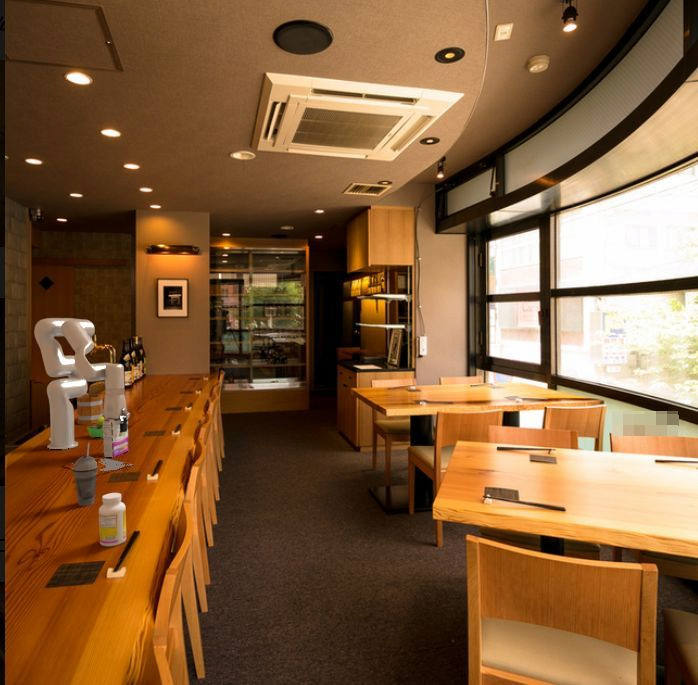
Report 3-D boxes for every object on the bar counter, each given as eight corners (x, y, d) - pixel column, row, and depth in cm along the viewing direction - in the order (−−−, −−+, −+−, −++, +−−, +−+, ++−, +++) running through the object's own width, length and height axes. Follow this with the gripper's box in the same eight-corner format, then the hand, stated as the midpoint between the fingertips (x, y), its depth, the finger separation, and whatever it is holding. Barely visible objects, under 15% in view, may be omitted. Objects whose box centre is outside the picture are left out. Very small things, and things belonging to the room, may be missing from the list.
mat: (61, 466, 210) (61, 465, 209) (97, 457, 223) (97, 456, 223) (98, 475, 198) (98, 475, 198) (134, 465, 211) (134, 464, 211)
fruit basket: (86, 437, 259) (85, 415, 259) (100, 433, 268) (100, 412, 267) (103, 439, 255) (102, 417, 255) (117, 435, 263) (116, 413, 263)
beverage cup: (79, 499, 172) (78, 440, 171) (102, 499, 173) (101, 440, 172) (69, 507, 165) (68, 446, 164) (93, 507, 166) (92, 445, 164)
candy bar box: (119, 451, 234) (118, 415, 233) (129, 451, 233) (128, 415, 232) (102, 457, 223) (101, 420, 222) (113, 458, 222) (112, 420, 221)
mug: (104, 423, 293) (103, 397, 293) (77, 425, 287) (76, 398, 286) (101, 417, 311) (101, 392, 310) (76, 419, 304) (75, 394, 303)
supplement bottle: (117, 534, 145) (116, 489, 144) (131, 540, 141) (130, 494, 141) (94, 543, 140) (93, 496, 139) (108, 549, 136) (107, 501, 135)
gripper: (94, 392, 227) (96, 430, 228) (120, 394, 219) (121, 434, 220) (110, 389, 234) (111, 427, 235) (135, 392, 225) (136, 431, 226)
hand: (116, 430), depth 227 cm, fingers open, 9 cm apart
